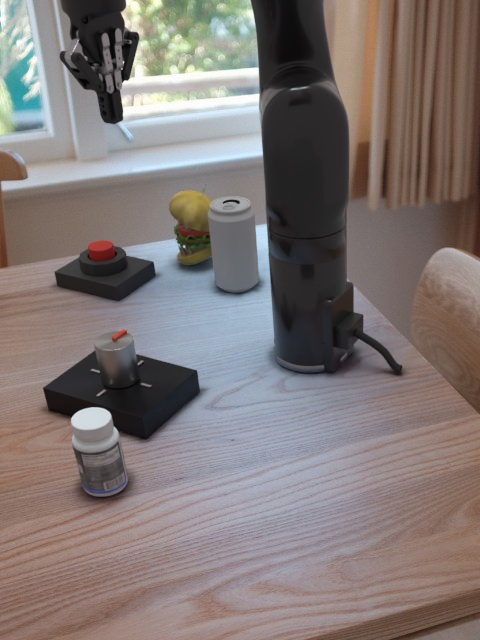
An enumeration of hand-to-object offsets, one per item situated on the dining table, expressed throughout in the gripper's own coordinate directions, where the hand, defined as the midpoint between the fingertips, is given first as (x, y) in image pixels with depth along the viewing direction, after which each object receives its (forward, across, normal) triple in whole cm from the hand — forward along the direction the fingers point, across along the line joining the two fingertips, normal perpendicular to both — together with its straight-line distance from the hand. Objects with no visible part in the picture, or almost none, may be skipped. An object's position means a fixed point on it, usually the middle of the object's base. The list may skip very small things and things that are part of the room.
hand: (113, 121), depth 116 cm
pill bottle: (+23, +39, +24) cm, 51 cm away
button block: (+23, 0, -6) cm, 24 cm away
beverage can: (+23, -7, +12) cm, 27 cm away
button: (+19, 0, -6) cm, 20 cm away
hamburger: (+23, -11, +3) cm, 26 cm away
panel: (+23, +25, +16) cm, 38 cm away
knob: (+20, +25, +16) cm, 36 cm away
